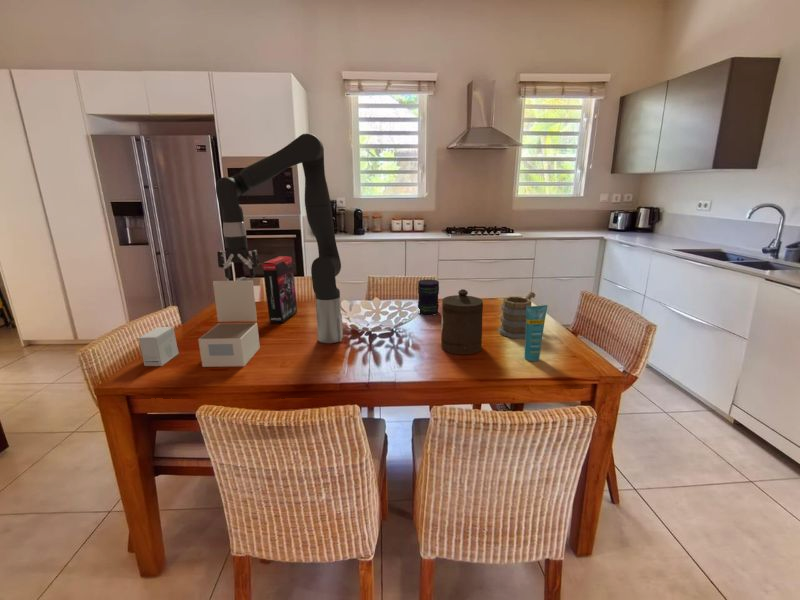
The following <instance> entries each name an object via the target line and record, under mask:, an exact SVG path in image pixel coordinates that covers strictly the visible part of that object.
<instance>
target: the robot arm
mask: <svg viewBox="0 0 800 600" xmlns="http://www.w3.org/2000/svg"><path fill="white" fill-rule="evenodd" d="M324 149H325V148H324V144H323V142H322V141H321V140H320V138H318V137H317V136H316V135H315V134H313V133H310V132H309V133H308V132H307V133H306V132H305V133H302V134H300V135H299V136H297V137H296V138H295V139H293V141H291V142H289V143H288V144H287V145H285V146H284V147H282V148H281V149H279V150H278V151H276V152H274V153H272V154H270V155H268V156H266V157H265V158H262V159H260V160H258V161H256V162H254V163H252V164H250V165H248V166H246V167H243V168H242V169H241V171H240V172H239V173H238V172H237V173H236V174H235V175H232V176H230V177H229V176H225V177H220V178H218V180H217V182H216V184H215V193H216V197H217V200H218V203H219V207H220V209H221V216H222V221H223V222H222V223H223V226H222V227H223V232H222V233H223V237H224V245H225V250H219V251H216V253H217V254H216V255H217V265H218V268H222V269H223V270H224V275H225V278H227V280H230V279H232V273H231V268H230V267H231V266H232V263H234V264H235V263H240V264H241V263H243V264H244V265H247V267H248V272H249V278H250V279H254V278H255V277H256V271H255V268H257V267H258V266H259V265H260V261H259V255H258V250H257V249H253V250H249V247H248V238H247V229H246V224H245V218H244V210H243V208H242V206H241V205H240V204H239V198H238V197H240V196H242V195H244V194H246V193H247V192H248V191H250V190H251V189H253V188H256V187H258V186H261V185H262V184H264V183H266V182H269V181H270V180H272V179H274V178H275V177H276V176H278V175H279V174H280V173H282V172H284V171H285V170H288V169H289V168H291V167H293V166H296V165H299V164H302V169H303V174H304V182H305V183H304V207H305V213H306V214H305V215H306V217H307V218H306V220H307V222H308V225H309V227H310V229H311V232H312V234H313V235H314V237H315V240H316V244H317V249H318V257H316V258H315V259H314V260H313V261H312V264H311V267H310V271H311V272H310V273H311V282H312V283H311V284H312V289H313V292H314V295H315V296H314V297H315V306H316V307H315V309H316V311H315V312H316V323H317V326H316V327H317V338H318V340H317V341H318V342H320V343H323V344H333V343H340V342H342V340H343V337H344V331H343V327H344V326H343V314H342V309H341V308H342V307H341V290H340V289H339V287H337V279H336V277H337V276H338V275H339V274H340V272H341V271H342V261H341V258H340V254H339V250H338V246H337V242H336V235H335V225H334V218H333V217H334V216H333V210H332V203H331V197H330V191H329V187H328V182H327V178H326V173H325V172H326V171H325V170H326V169H325V150H324ZM249 255H250V256H251V257H252V260H251V258H249ZM225 256H226V257H227V258H228V259H227V260H226V261H225Z"/></svg>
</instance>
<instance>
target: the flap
mask: <svg viewBox="0 0 800 600" xmlns="http://www.w3.org/2000/svg"><path fill="white" fill-rule="evenodd" d="M212 285H213V286H212V287H213V294H214V299H215V300H214V301H215V309H216V317H217V322H219V323H223V322H257V321H258V318H257V307H256V298H255V289H254V280H247V277H246V276H241V277H239V278H237V279H235V280H213V281H212Z"/></svg>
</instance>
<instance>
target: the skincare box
mask: <svg viewBox="0 0 800 600" xmlns="http://www.w3.org/2000/svg"><path fill="white" fill-rule="evenodd" d="M137 339H138V342H139V347H140V353H141V356H142V361H143V365H144V367H163V366H164V365H165V364H167V363H168V362H169V361H171V360H172V359H174V358H175V357H177V356H178V355H180V353H179V349H178V345H177V339H176V333H175V329H174V326H159V327H158V326H157V327H155V328H153V329H151V330H149V331H148V332H146V333H144V334H143V335H141V336H139V337H138V338H137Z"/></svg>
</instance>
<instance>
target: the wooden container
mask: <svg viewBox="0 0 800 600" xmlns="http://www.w3.org/2000/svg"><path fill="white" fill-rule="evenodd" d="M457 293H458V295H449V296H445V297H443V298H442V302H441V305H442V307H441V308H442V309H441V327H440V328H441V329H440V331H441V332H440V337H441V340H440V342H441V343H440V344H441V345H440V346H441V349H442V350H443V351H445V352H447V353H449V354H454V355H463V356H464V355H467V356H468V355H472V354H473V355H474V354H477V353H479V352H480V351H481V350H482V344H483V343H482V338H483V307H484V301H483V299H481V298H480V297H476V296H473V295H469V294H468V293H469V292H468V290H466V289H463V288H462V289H460V290H458V291H457Z"/></svg>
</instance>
